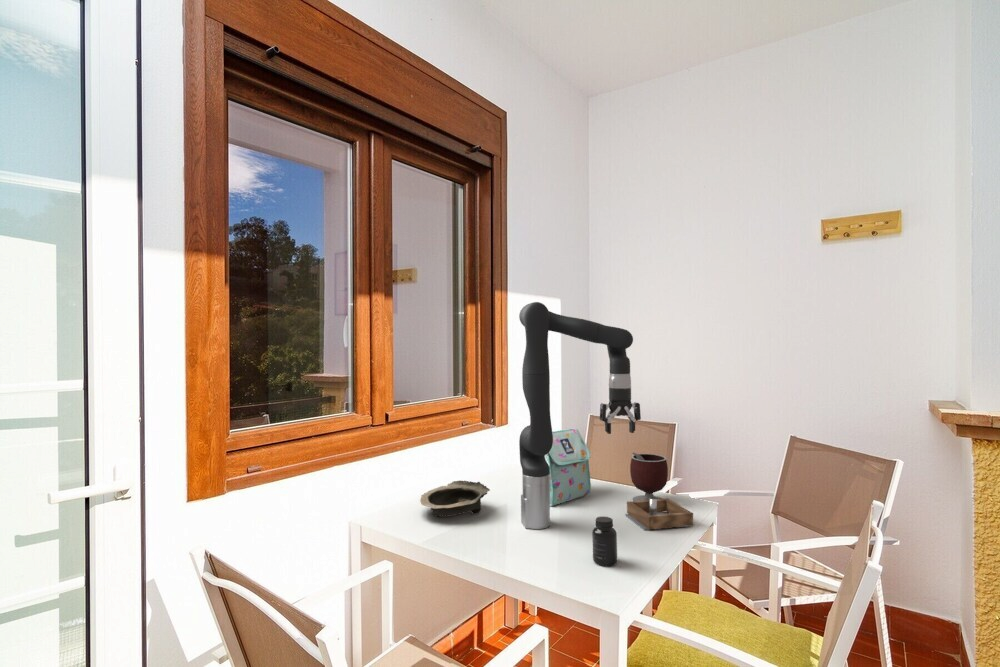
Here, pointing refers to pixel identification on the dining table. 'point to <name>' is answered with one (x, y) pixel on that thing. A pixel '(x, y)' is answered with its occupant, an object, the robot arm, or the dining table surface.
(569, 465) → the lunch bag
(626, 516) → the slate plate
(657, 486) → the mate gourd
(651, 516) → the walnut collar
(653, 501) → the steel post
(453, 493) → the stone bowl
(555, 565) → the dining table surface
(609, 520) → the supplement bottle
